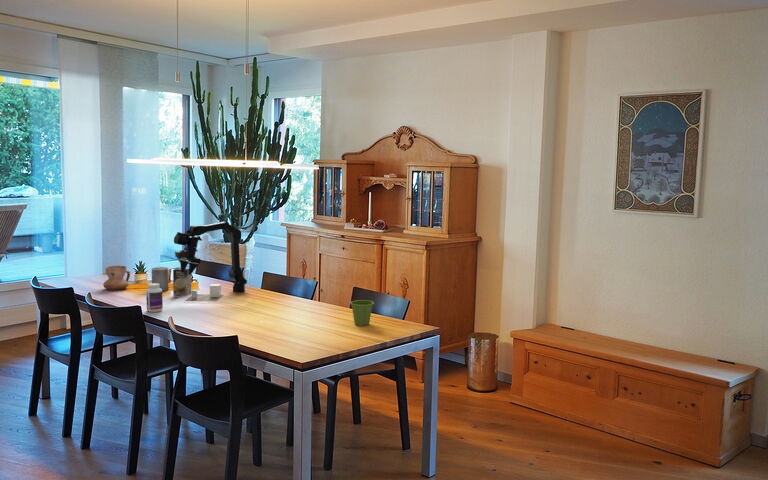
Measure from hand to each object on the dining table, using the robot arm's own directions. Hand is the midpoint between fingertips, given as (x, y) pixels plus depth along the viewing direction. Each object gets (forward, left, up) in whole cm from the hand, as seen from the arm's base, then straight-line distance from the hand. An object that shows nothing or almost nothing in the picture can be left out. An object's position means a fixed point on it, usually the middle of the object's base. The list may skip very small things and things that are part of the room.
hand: (185, 273), depth 380 cm
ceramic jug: (+51, -31, -16) cm, 62 cm away
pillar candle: (+24, -29, -16) cm, 41 cm away
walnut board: (-10, -2, -15) cm, 19 cm away
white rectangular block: (-15, -7, -14) cm, 22 cm away
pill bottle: (+9, +29, -16) cm, 34 cm away
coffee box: (+6, -13, -16) cm, 21 cm away
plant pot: (-101, +54, -16) cm, 116 cm away
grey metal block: (-5, +2, -14) cm, 15 cm away
